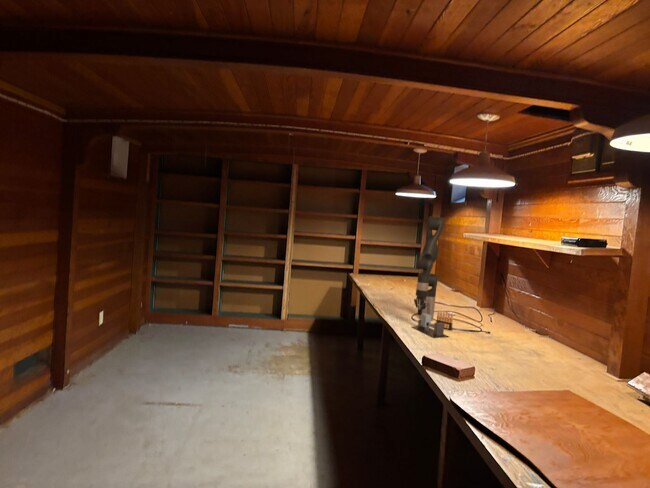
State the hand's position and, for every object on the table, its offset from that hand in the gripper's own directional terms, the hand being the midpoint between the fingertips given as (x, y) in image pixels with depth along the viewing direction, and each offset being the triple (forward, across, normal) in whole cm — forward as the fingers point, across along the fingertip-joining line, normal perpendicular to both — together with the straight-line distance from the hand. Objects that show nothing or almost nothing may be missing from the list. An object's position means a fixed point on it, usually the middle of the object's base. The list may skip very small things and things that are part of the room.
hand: (419, 314), depth 266 cm
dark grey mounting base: (+8, +12, 0) cm, 14 cm away
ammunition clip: (+8, +6, +16) cm, 19 cm away
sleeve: (+6, +7, 0) cm, 9 cm away
